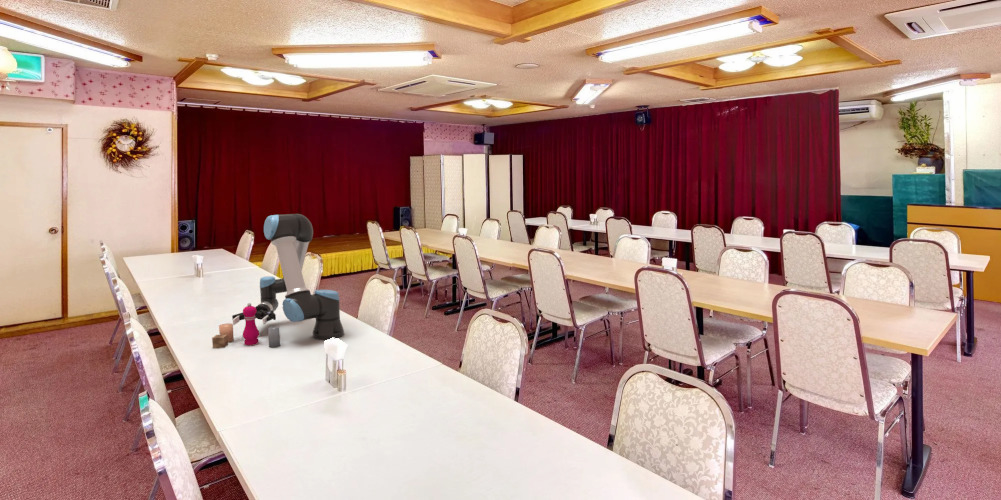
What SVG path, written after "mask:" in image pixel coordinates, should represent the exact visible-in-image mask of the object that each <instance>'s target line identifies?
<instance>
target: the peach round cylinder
mask: <svg viewBox="0 0 1001 500" xmlns="http://www.w3.org/2000/svg"><path fill="white" fill-rule="evenodd" d="M218 333H219V334H218V335H228V344H229V343H233V342H234V340H235V339H234V338H235V337H234V336H235V335H234V325H233V323H222V324H219V325H218Z"/></svg>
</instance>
